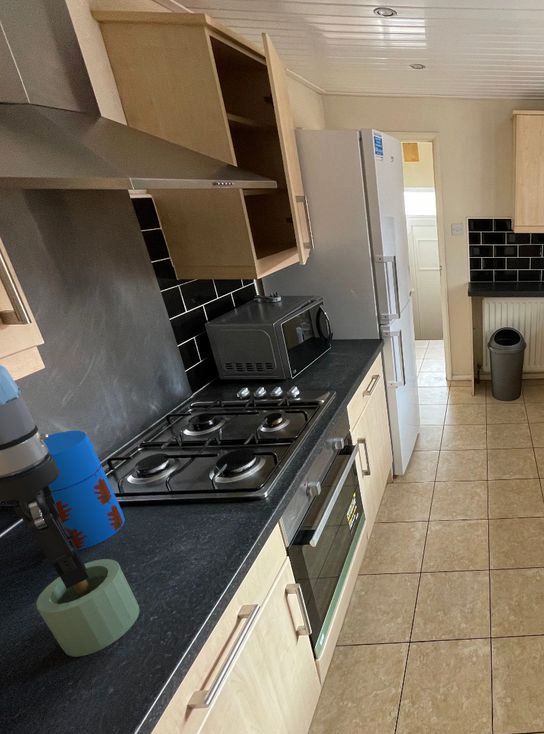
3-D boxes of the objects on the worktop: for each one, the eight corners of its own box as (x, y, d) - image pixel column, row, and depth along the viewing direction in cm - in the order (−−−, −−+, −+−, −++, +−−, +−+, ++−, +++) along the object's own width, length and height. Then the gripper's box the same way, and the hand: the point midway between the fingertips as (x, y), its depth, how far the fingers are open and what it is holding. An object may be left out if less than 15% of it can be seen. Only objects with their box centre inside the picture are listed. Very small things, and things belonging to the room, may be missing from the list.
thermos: (114, 513, 101) (73, 425, 92) (137, 528, 97) (97, 437, 87) (53, 545, 92) (2, 451, 83) (76, 563, 88) (24, 467, 78)
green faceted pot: (67, 670, 69) (39, 625, 65) (59, 630, 75) (33, 587, 71) (145, 623, 76) (124, 580, 72) (132, 591, 82) (112, 549, 78)
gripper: (56, 472, 60) (114, 587, 69) (45, 436, 69) (98, 542, 78) (-25, 500, 55) (50, 621, 64) (-26, 457, 63) (40, 569, 72)
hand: (76, 578), depth 71 cm, fingers closed on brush, 2 cm apart
